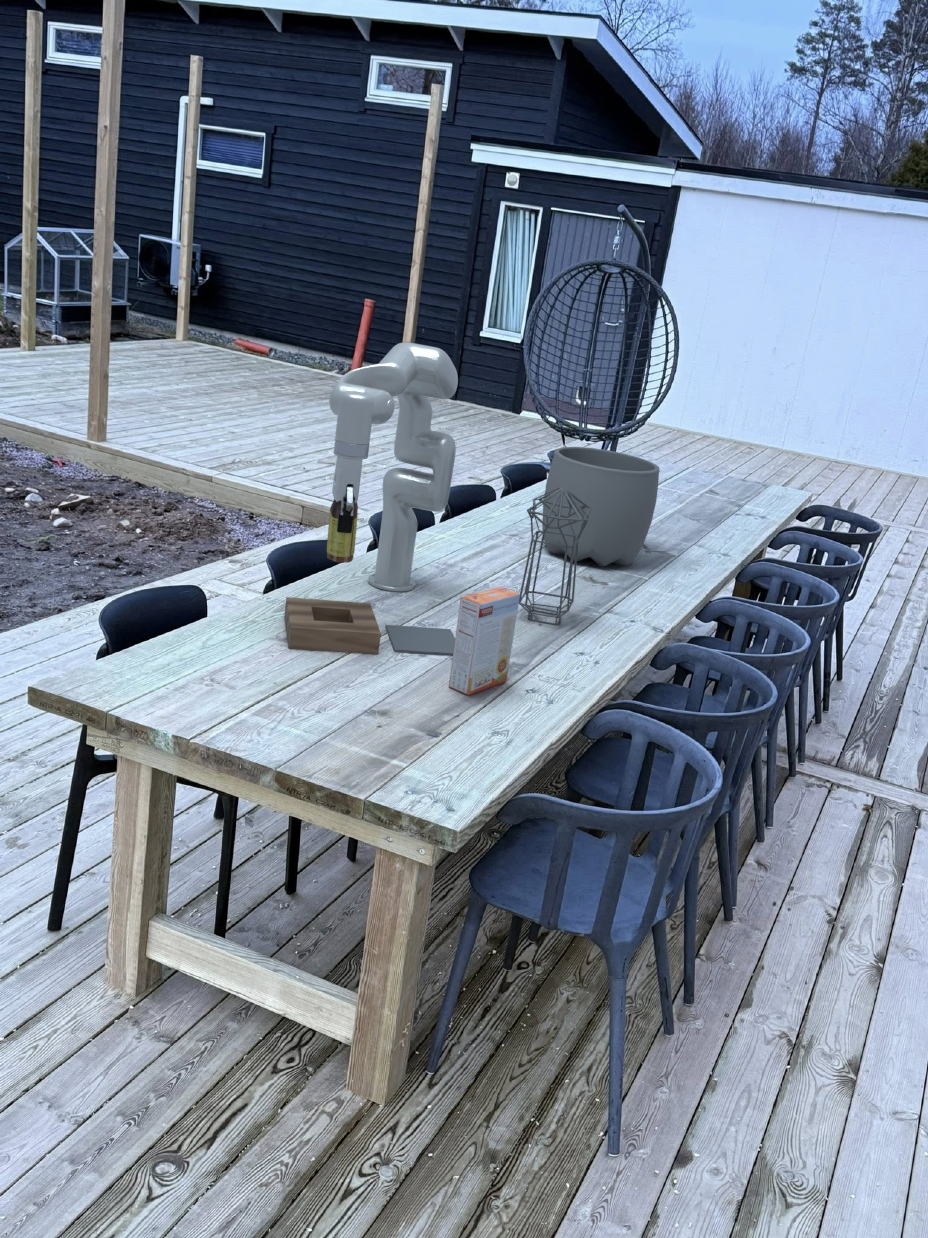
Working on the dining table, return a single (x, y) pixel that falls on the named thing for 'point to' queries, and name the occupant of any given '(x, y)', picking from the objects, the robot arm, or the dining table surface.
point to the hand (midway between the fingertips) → (342, 527)
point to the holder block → (331, 626)
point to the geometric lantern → (577, 510)
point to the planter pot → (602, 503)
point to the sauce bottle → (340, 536)
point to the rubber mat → (421, 640)
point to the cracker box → (483, 640)
